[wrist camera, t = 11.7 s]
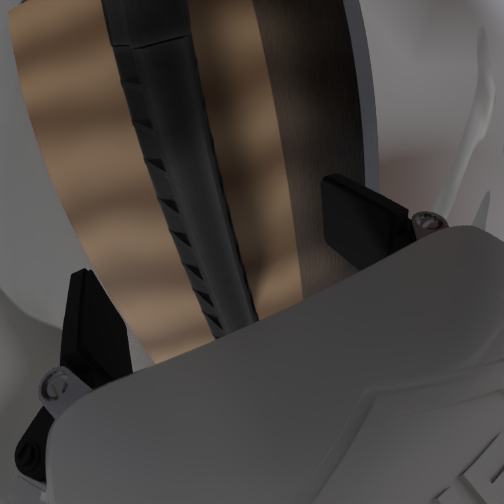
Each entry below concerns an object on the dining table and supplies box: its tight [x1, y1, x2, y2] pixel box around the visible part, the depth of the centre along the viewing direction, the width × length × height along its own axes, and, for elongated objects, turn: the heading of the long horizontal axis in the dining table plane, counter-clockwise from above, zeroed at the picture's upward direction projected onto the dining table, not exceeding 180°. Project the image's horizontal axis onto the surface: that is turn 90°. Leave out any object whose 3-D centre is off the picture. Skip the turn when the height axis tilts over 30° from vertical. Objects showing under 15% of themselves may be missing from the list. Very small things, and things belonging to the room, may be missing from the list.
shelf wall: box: [252, 0, 379, 299], centre depth 18 cm, size 30×1×9 cm, turn 13°
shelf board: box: [9, 0, 304, 364], centre depth 20 cm, size 34×18×2 cm, turn 13°
